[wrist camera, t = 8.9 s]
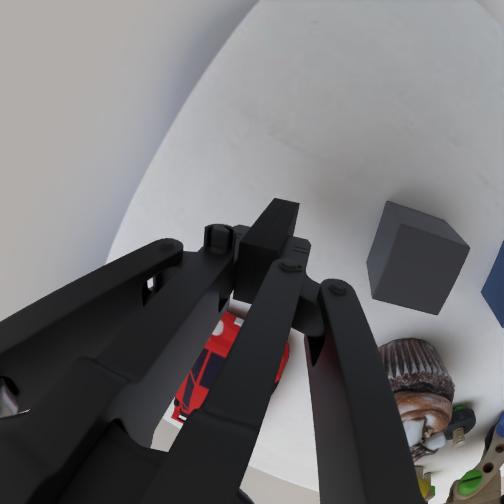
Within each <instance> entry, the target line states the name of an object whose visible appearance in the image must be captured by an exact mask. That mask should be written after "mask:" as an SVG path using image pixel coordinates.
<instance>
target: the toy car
mask: <svg viewBox="0 0 504 504" xmlns="http://www.w3.org/2000/svg"><path fill="white" fill-rule="evenodd" d="M243 322H244V320H243V319H241V318H239V317H236V316H234V315H232V314H230V313H229V312H227V311H225V313H224V314H223V316H222V318H221V319H220V321H219V323H218V325H217V326H216V328H215V330H214V331H213V333H212V335H211V336H210V338H209V340H208V341H207V343H206V345H205V347H204V348H203V350H202V352H201V353H200V355H199V357H198V358H197V360H196V362H195V363H194V365H193V367H192V368H191V370H190V372H189V374H188V375H187V377H186V379H185V380H184V382H183V384H182V385H181V387H180V389H179V390H178V392H177V394H176V395H175V400H174V405H175V408H174V412H173V415H172V417H171V418H173V419H175V420H177V421H179V422H181V423H183V424H184V422H185V420H183V419H181V418H179V415H182V416H184V417H186V418H187V417H188V416H189V414H190V413H191V412H192V410H193V409H197V408H199V407H200V406H201V404H202V403H203V401H204V399H205V397H206V395H207V393H208V391H209V389H210V387H211V385H212V383H213V381H214V379H215V377H216V375H217V374H218V372H219V370H220V368H221V366H222V364H223V362H224V360H225V358H226V356H227V354H228V352H229V350H230V348H231V346H232V344H233V342H234V340H235V338H236V336H237V334H238V332H239V330H240V328H241V326H242V324H243ZM289 352H290V349H289V345H288V341H287V344H286V347H285V351H284V354H283V357H282V361H281V364H280V368H279V371H278V374H277V378H276V381H275V384H274V387H273V391H272V394H273V392H274V391H275V389H276V387H277V385H278V383H279V381H280V378H281V375H282V373H283V370H284V367H285V365H286V363H287V360H288V358H289ZM272 394H271V395H272Z"/></svg>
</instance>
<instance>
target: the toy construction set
mask: <svg viewBox="0 0 504 504" xmlns="http://www.w3.org/2000/svg"><path fill="white" fill-rule="evenodd" d="M475 423H476V418H475V414H474V411H473V410H472V409H470V408H465V407H463V406H457V407H456V409H455V410H453V409H452V417H451V421H450V423H449V424H448V427H447V429H446V431H445V432H444V436H445V438H446V440H450V439H453V440H454V441H453V442H454V448H459V447H462V446H463V445H464V443H465V441H464V440H465V438H464V435H465V434H466V433H468V432H469V431H470V430H471V429H472V428H473V427H474V426H475ZM503 463H504V414H502V416H501V418H500V421H499V422H498V423H497V425H495V426H494V427H492V429H491V430H490V431H489V433H488V434H487V436H486V438H485V448H484V451H483V456H482V458H481V461H480V463H479V464H478V465H477V466H476V467H475V468H474V469H472V470H470V471H468V472H467V473H466V474H465V475H464V476H463V477H462V478H461V479H460V480H456V481H454V483H453V484H452V486H451V488H450V493H449V497H448V498H447V501H446V503H445V504H504V495H502V496H501V491H500V490H501V474H500V470H499V469H500V467H501V466H502V464H503ZM415 470H416V474H417V479H418V483H419V488H420V492H421V494H422V496H423V497H424V499H425V501H426V502H427V504H428V500H430V499H431V498H433V497H434V496H435V486H431V482H430V481H431V477H430V476H431V475H430V473H427V474H425V475H424V476H423V468H422V467H415ZM422 476H423V478H422Z"/></svg>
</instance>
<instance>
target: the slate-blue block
mask: <svg viewBox="0 0 504 504" xmlns="http://www.w3.org/2000/svg"><path fill="white" fill-rule="evenodd" d="M481 294H482V295H483V297H484V298H485V300H486V301H487V303H488V305H489V306H490V308H491V310H492V311H493V313H494V315H495V316H496V318H497V320H498V321H499V323H500V325H501V327H502V328H504V241H503V244H502V247H501V249H500V252H499V254H498V256H497V259H496V261H495V263H494V266H493V268H492V270H491V272H490V275H489V277H488V279H487V281H486V283H485V285H484V287H483V289H482V291H481Z"/></svg>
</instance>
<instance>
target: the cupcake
mask: <svg viewBox="0 0 504 504" xmlns="http://www.w3.org/2000/svg"><path fill="white" fill-rule="evenodd" d="M378 350H379V353H380V356H381V359H382V361H383V364H384V367H385V370H386V373H387V376H388V378H389V381H390V384H391V387H392V390H393V393H394V396H395V400H396V403H397V406H398V409H399V412H400V416H401V419H402V422H403V426H404V429H405V432H406V436H407V440H408V443H409V447H410V451H411V454H412V458H413V462H415V461H417V460H418V459H419V458H421V457H422V456H425V455H431V454H435V453H436V452H437V450H438V449H439V448H441V447H443V446H445V444H446V441H447V440H446V438H445V436H444V432H445V431H446V429H447V427H448V424H449V423H450V421H451V417H452V401H453V397H454V391H455V390H454V387H455V385H454V383H453V382H452V379H451V377H450V375H449V373H448V371H447V369H446V368H445V366H444V364H443V362H442V361H441V359H440V357H439V355H438V354H437V352H436V350H435V348H434V347H432V346H431V345H430V344H428V343H427V342H426V341H423V340H419V339H414V338H410V339H400V340H395V341H392V342H390V343H388V344H386V345H383V346H381V347H379V348H378Z"/></svg>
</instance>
